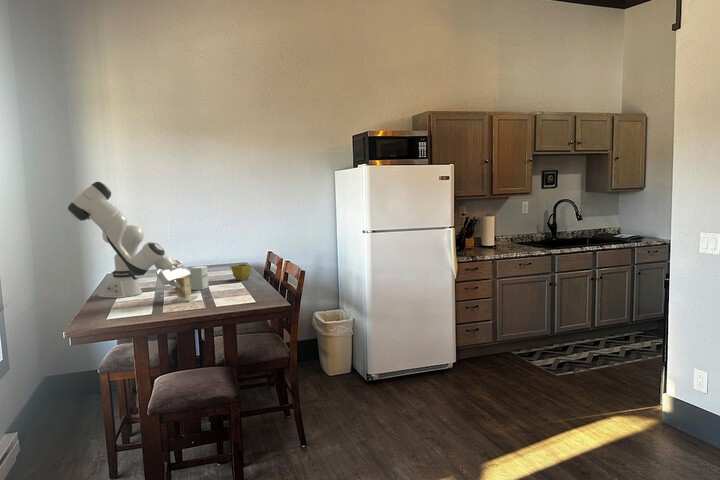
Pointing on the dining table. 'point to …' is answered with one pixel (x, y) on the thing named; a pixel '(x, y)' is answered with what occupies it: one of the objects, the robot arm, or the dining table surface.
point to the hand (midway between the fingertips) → (184, 286)
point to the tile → (184, 299)
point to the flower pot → (241, 271)
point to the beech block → (184, 286)
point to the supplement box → (199, 278)
